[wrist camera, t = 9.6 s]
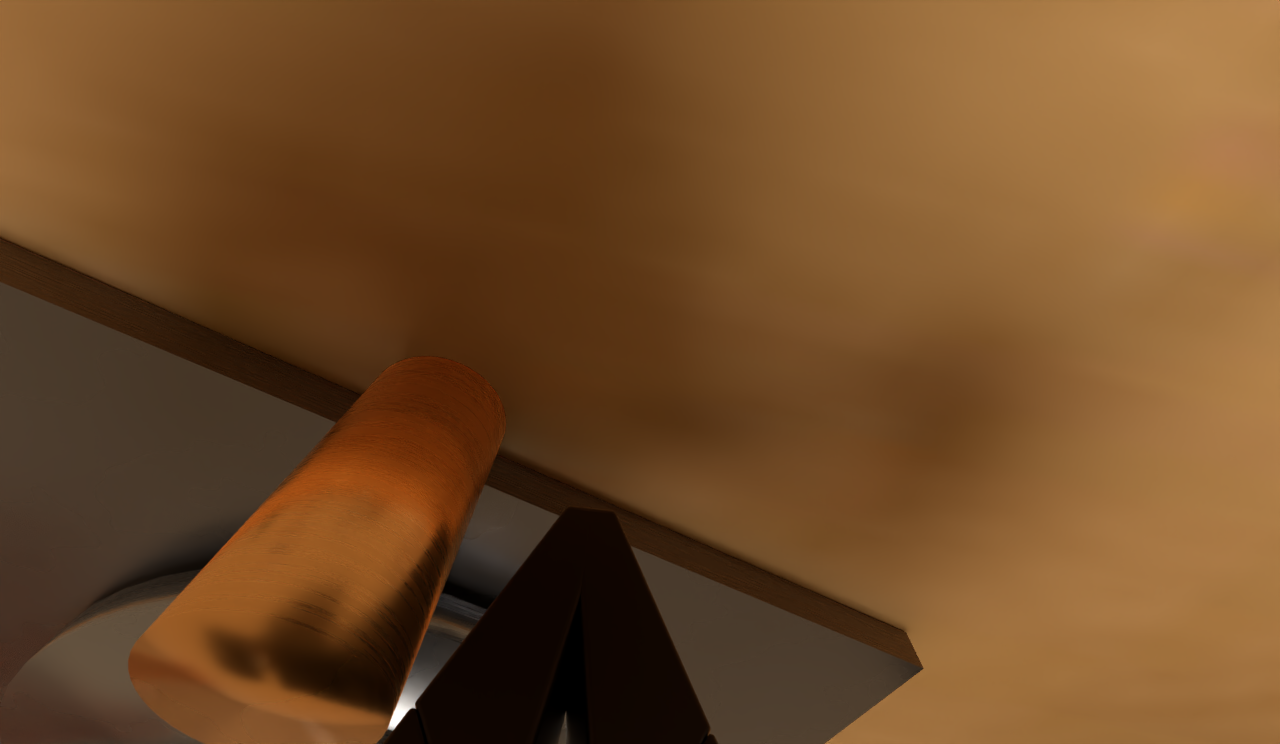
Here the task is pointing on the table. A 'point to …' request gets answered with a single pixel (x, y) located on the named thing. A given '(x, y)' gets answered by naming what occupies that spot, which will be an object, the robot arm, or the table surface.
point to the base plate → (271, 449)
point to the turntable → (293, 594)
